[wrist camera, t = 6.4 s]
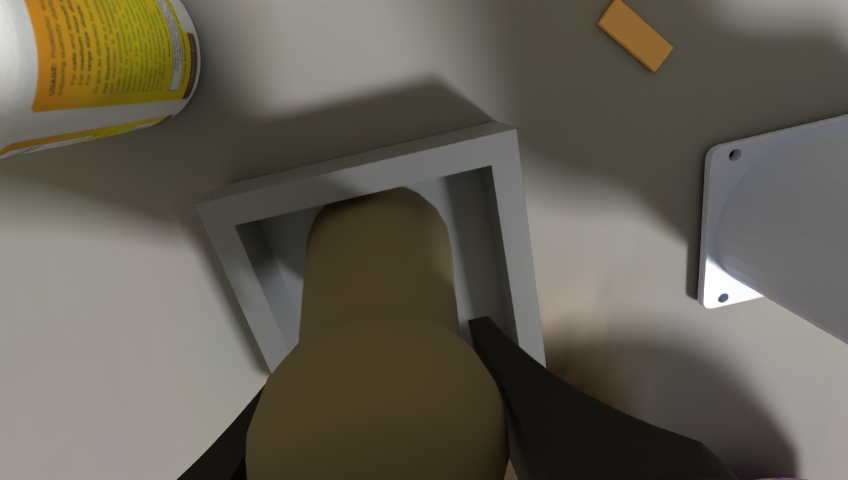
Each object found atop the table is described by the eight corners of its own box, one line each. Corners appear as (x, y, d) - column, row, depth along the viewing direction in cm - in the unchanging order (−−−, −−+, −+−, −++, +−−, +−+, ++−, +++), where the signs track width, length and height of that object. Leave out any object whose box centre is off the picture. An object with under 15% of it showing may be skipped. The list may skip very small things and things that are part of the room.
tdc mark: (596, 24, 15) (599, 23, 15) (614, -2, 15) (617, -3, 14) (652, 71, 16) (655, 71, 15) (670, 48, 15) (673, 47, 15)
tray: (495, 120, 16) (516, 128, 13) (527, 343, 20) (548, 383, 17) (224, 184, 16) (193, 204, 13) (313, 393, 20) (302, 440, 18)
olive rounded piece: (469, 285, 18) (588, 560, 8) (344, 333, 18) (302, 659, 8) (421, 159, 16) (502, 318, 5) (278, 216, 16) (100, 471, 6)
